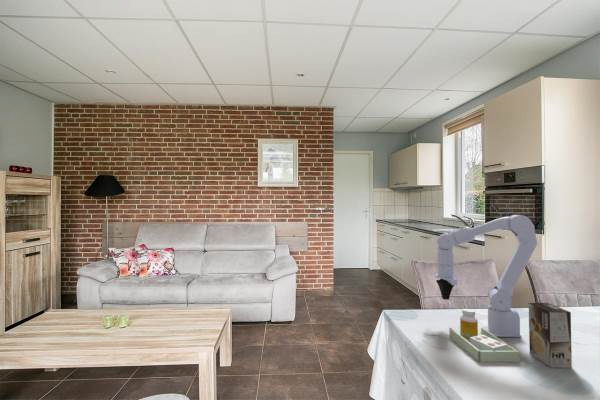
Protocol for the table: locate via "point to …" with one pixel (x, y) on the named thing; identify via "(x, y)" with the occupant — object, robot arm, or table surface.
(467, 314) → the supplement bottle
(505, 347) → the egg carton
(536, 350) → the coffee box
